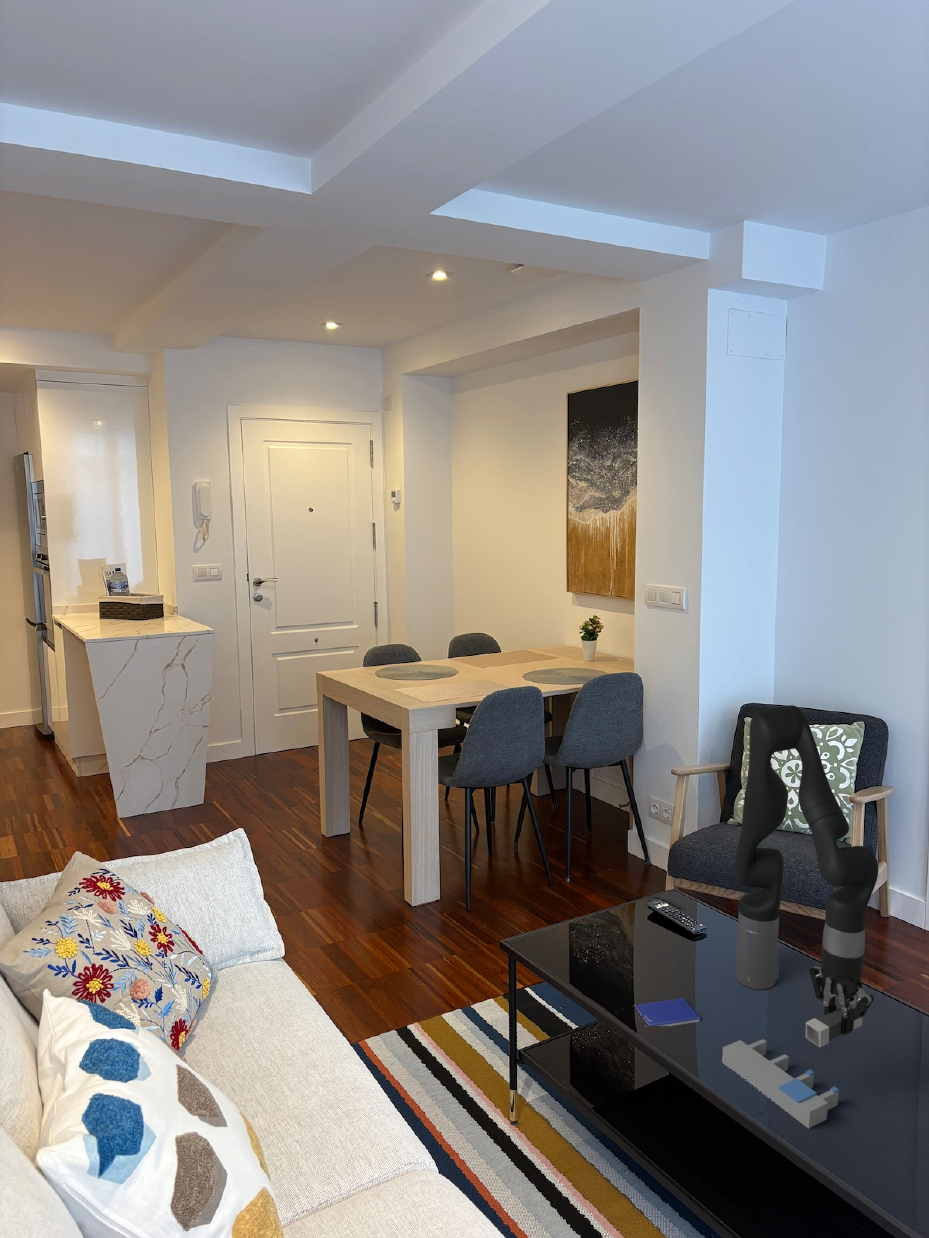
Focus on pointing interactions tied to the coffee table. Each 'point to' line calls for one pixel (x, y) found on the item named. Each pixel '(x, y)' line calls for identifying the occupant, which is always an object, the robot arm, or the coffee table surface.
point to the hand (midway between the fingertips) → (837, 1027)
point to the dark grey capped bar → (827, 1027)
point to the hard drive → (667, 1013)
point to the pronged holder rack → (780, 1082)
